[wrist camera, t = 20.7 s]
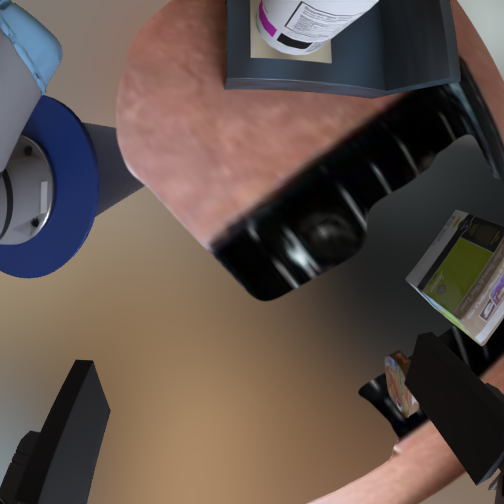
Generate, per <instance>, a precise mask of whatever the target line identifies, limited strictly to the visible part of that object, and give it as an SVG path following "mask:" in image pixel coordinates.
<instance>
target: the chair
mask: <svg viewBox="0 0 504 504" xmlns="http://www.w3.org/2000/svg"><path fill="white" fill-rule="evenodd" d="M260 2H261V0H225V5H227V22H226V74H225V89H263V90H289V91H305V92H318V93H329V94H339V95H348V96H356V97H363V98H371V99H373V98H378V97H382V96H386V95H390V94H395V93H400V92H405V91H409V90H414V89H420V88H425V87H430V86H436V85H442V84H448V83H454V82H460V81H461V78H460V66H459V56H458V48H457V40H456V33H455V27H454V20H453V15H452V9H451V4H450V0H379V1H378V2H377V3H376V4H375V5H374V6H373V7H372V8H370V9H369V10H368V11H367V12H365V13H364V14H363V15H361V16H360V17H359V18H357V19H356V20H355V21H353V22H352V23H351V24H349V25H348V26H347V27H346V28H344V29H343V30H342V31H340V32H339V33H338V34H337V35H335V36H334V37H333V38H332V39H331V40H329V41H328V42H327V43H326V44H324V45H323V46H322V47H321V48H320V49H318V50H316V51H314V52H311V53H309V54H304V55H292V54H287V53H283V52H280V51H278V50H277V49H275V48H273V47H271V46H270V45H269V44H268V43H267V42H266V41H265V40H264V39H263V38H262V37H261V36H260V33H259V31H258V29H257V27H256V12H257V10H258V7H259V4H260Z"/></svg>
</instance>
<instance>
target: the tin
mask: <svg viewBox="0 0 504 504" xmlns="http://www.w3.org/2000/svg"><path fill="white" fill-rule="evenodd" d="M410 362H411V361H410V360H409V359H408V358H407V357H406V356H405V355H404V354H403V353H402V352H401V351H396V352H394V353H392V354H390V355H388V356H386V357H385V359H384V364H385V372H386V379H387V387H388V392H389V395H390V398H391V400H392V402H393V404H394V406H395V407H396V409H397V410H398V412H399V413H400V414H401V415H402V416H403V417H405V418H408V417H409V416H410V415H412V414H413V413H415V412H416V411H417V410H418V409H419V403H418V402H417V401H416V399H415V398H414V397H413V395H412V394H411V393H410V391H409V390H408V389H407V387H406V386H405V385H404V382H405V378H406V375H407V372H408V369H409V366H410Z"/></svg>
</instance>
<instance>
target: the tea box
mask: <svg viewBox="0 0 504 504" xmlns="http://www.w3.org/2000/svg"><path fill="white" fill-rule="evenodd" d="M406 281H408V282H409V284H411V285H412V286H413V287H414V288H415V289H416V290H417V291H418V292H419V293H420V294H421V295H422V296H423V297H424V298H425V299H426V300H427V301H428V302H429V303H430V304H431V305H432V306H433V307H434V308H435V309H437V310H438V311H439V312H440V313H441V314H442V315H444V316H445V317H446V318H447V319H449V320H450V321H451V322H452V323H454V324H455V325H456V326H457V327H459V328H460V329H461V330H462V331H464V332H465V333H466V334H467V335H468V336H470V337H471V338H472V339H473V340H475V341H476V342H477V343H478V344H480V345H481V346H483V345H484V344H485V343H486V342H487V340H488V339H489V338H490V336H491V335H492V334H493V332H494V331H495V330H496V328H497V327H498V325H499V324H500V322H501V321H502V319H503V318H504V226H503V225H500V224H497V223H495V222H492V221H489V220H486V219H484V218H481V217H478V216H475V215H472V214H469V213H466V212H463V211H459V210H455V211H454V213H453V214H452V216H451V217H450V219H449V220H448V222H447V223H446V225H445V226H444V227H443V229H442V230H441V232H440V233H439V235H438V236H437V238H436V239H435V240H434V242H433V243H432V245H431V246H430V247H429V248H428V250H427V251H426V253H425V254H424V255H423V257H422V258H421V259H420V261H419V262H418V263H417V265H416V266H415V267H414V268H413V270H412V271H411V272H410V274H409V275H408V276H407V277H406Z"/></svg>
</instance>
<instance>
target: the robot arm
mask: <svg viewBox="0 0 504 504" xmlns="http://www.w3.org/2000/svg"><path fill="white" fill-rule="evenodd" d="M61 59H62V47H61V45H60V43H59V41H58V40H57V38H56V37H55V36H54V35H53V34H52V33H51V32H50V31H49V30H48V29H47V28H46V27H45V26H44V25H42V24H41V23H40V22H39V21H38V20H37V19H35V18H34V17H33V16H32V15H30V14H29V13H28V12H27V11H25V10H24V9H23V8H21V7H20V6H19V5H17V4H16V3H12V1H11V0H0V244H8V245H15V244H21V243H24V242H26V241H28V240H30V239H31V238H33V237H35V236H36V235H38V234H39V233H40V232H41V231H42V230H43V229H44V228H45V227H46V225H47V224H48V222H49V220H50V218H51V216H52V214H53V211H54V208H55V204H56V199H57V178H56V172H55V168H54V165H53V162H52V160H51V157H50V155H49V154H48V152H47V150H46V149H45V148H44V147H43V145H42V144H41V143H40V142H38V141H37V140H36V139H34V138H32V137H31V136H28V135H24V134H21V132H22V130H23V128H24V126H25V125H26V123H27V121H28V119H29V117H30V115H31V113H32V111H33V110H34V108H35V106H36V104H37V102H38V101H39V99H40V97H41V96H43V95H44V94H45V92H46V86H47V84H48V83H49V81H50V79H51V78H52V76H53V74H54V72H55V71H56V69H57V68H58V66H59V64H60V62H61ZM404 385H405V386H406V387H407V389H408V390H409V391H410V393H411V394H412V395H413V397H414V398H415V399H416V401H417V402H418V403H419V405H420V406H421V408H422V409H423V410H424V412H425V413H426V414H427V416H428V417H429V419H430V420H431V421H432V423H433V424H434V426H435V427H436V428H437V430H438V431H439V433H440V434H441V435H442V437H443V438H444V440H445V441H446V442H447V444H448V445H449V447H450V448H451V450H452V451H453V452H454V454H455V455H456V457H457V458H458V460H459V461H460V462H461V464H462V465H463V467H464V468H465V470H466V471H467V473H468V474H469V475H470V477H471V479H472V480H473V481H474V483H475V485H479V484H480V483H482V482H484V481H485V480H487V479H488V478H490V477H491V476H492V475H493V474H494V472H495V471H496V470H497V468H499V469H500V471H501V472H500V474H499V475H498V476H497V477H496V479H495V480H494V481H493V482H492V483H491V484H490V486H489V489H488V490H491V489H492V488H493V486H494V485H495V484H496V483H497V486H496V487H495V489H494V490H496V497H495V504H504V395H503V394H502V392H501V391H500V390H499V389H498V388H496V387H494V386H492V385H490V384H489V383H486V384H484V383H483V382H482V381H481V380H480V379H479V378H478V377H477V376H476V375H475V374H474V373H473V372H472V371H471V370H470V369H469V368H468V367H467V366H466V365H465V364H464V363H463V362H462V361H461V360H460V359H459V358H458V357H457V356H456V355H455V354H454V353H453V352H452V351H451V350H450V349H449V348H448V347H447V346H446V345H445V344H444V343H443V342H442V341H441V340H440V339H439V338H438V337H436V336H435V335H434V334H433V333H432V332H429V333H424V334H420V335H418V337H417V341H416V345H415V348H414V352H413V356H412V359H411V362H410V366H409V369H408V372H407V375H406V378H405V382H404ZM109 415H110V408H109V405H108V403H107V400H106V397H105V395H104V392H103V389H102V386H101V383H100V380H99V378H98V374H97V372H96V368H95V365H94V362H93V361H91V360H75V362H74V364H73V366H72V368H71V370H70V372H69V374H68V376H67V378H66V380H65V382H64V383H63V385H62V387H61V389H60V392H59V394H58V396H57V398H56V400H55V402H54V404H53V406H52V408H51V410H50V412H49V414H48V417H47V419H46V421H45V423H44V425H43V427H42V430H41V432H34V431H29V433H27V434H26V435H25V436H24V437H23V438H22V439H21V441H20V443H19V445H18V447H17V449H16V454H14V456H13V458H12V463H10V465H9V467H8V470H7V472H6V475H5V477H4V479H3V482H2V485H1V487H0V504H87V500H88V496H89V492H90V487H91V483H92V479H93V474H94V470H95V466H96V462H97V458H98V455H99V451H100V447H101V443H102V439H103V436H104V432H105V429H106V425H107V422H108V418H109Z"/></svg>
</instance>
